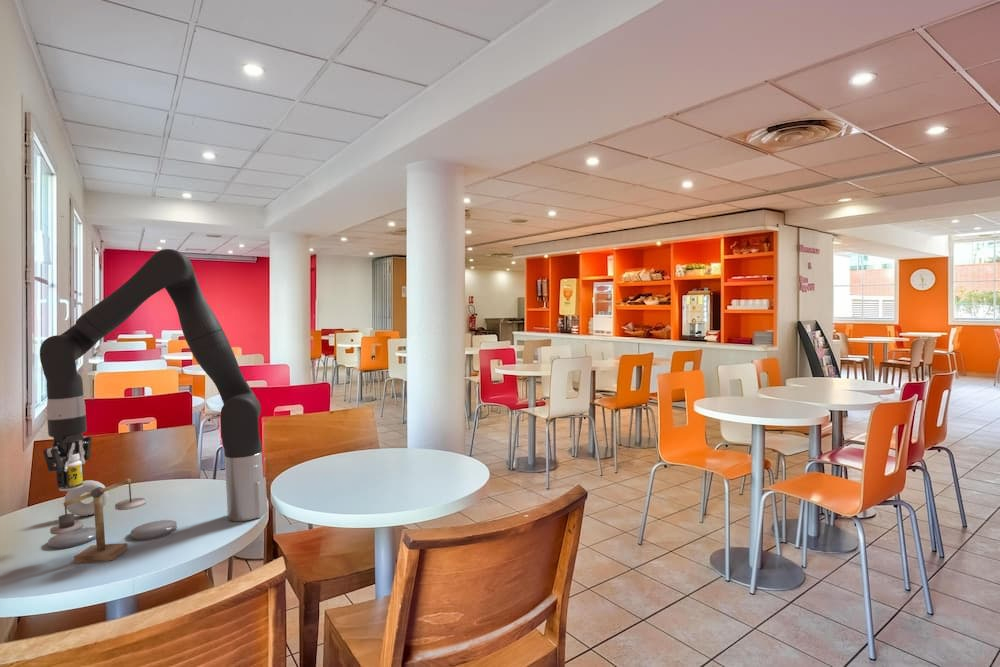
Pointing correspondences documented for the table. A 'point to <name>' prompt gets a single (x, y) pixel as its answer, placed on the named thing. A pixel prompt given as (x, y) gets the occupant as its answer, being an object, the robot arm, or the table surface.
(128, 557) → the table surface
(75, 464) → the supplement bottle
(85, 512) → the donut
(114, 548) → the balance
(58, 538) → the dish low side
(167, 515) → the table surface
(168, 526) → the dish high side
